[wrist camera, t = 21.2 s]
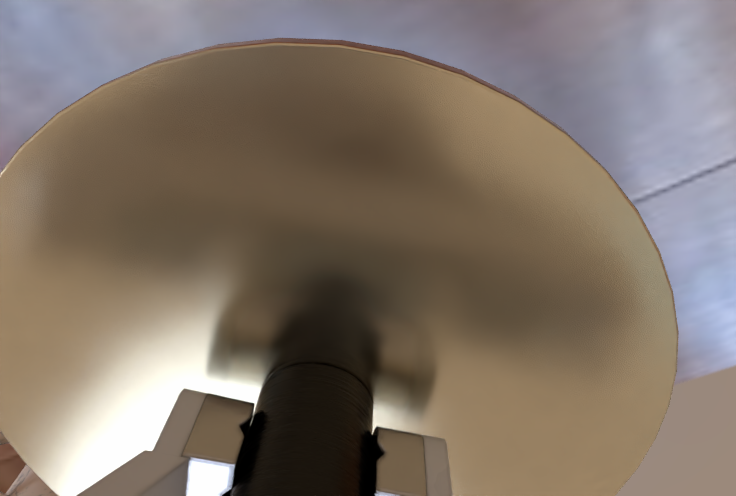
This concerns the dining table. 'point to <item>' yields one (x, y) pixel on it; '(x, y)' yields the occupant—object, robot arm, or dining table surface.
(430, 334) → the pan lid
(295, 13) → the dining table surface
